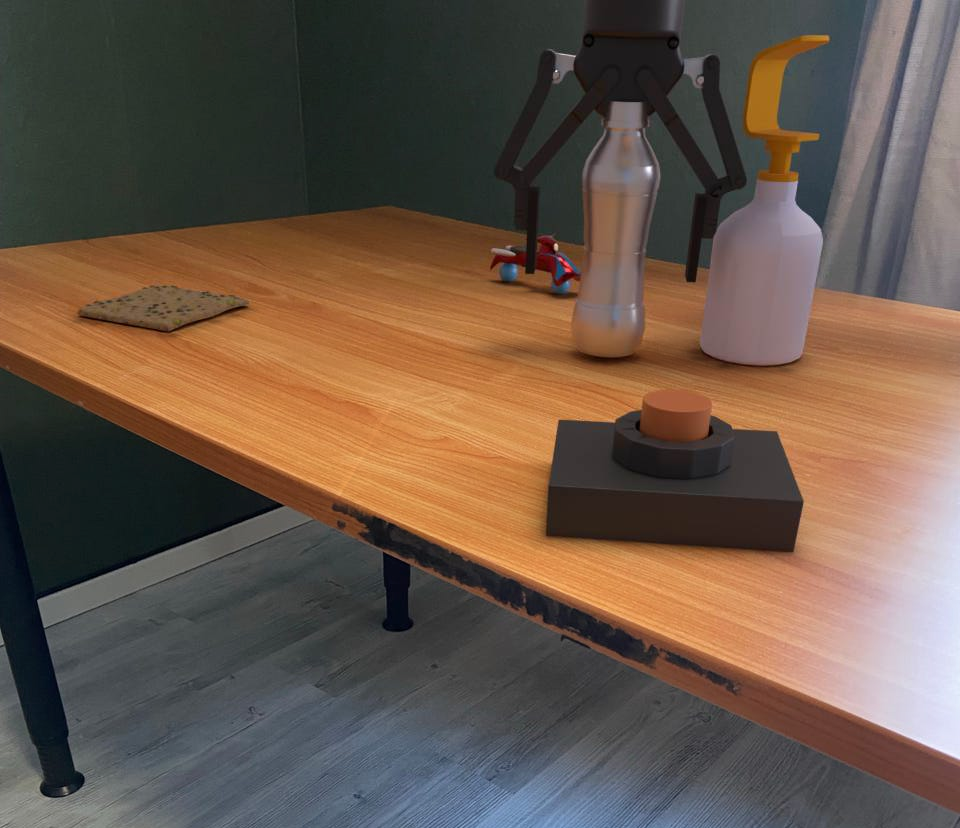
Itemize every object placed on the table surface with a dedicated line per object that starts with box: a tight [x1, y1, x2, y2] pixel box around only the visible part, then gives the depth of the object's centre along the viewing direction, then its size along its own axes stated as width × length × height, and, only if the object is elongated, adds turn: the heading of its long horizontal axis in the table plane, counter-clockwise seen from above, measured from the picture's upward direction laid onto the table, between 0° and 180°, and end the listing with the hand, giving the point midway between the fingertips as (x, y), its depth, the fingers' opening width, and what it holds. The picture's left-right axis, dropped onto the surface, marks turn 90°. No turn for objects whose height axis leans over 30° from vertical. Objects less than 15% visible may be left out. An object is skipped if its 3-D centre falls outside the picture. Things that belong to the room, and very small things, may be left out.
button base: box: [545, 409, 805, 553], centre depth 60 cm, size 14×11×5 cm
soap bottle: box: [699, 34, 830, 367], centre depth 83 cm, size 9×9×25 cm
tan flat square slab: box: [77, 285, 250, 332], centre depth 99 cm, size 12×12×1 cm
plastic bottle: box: [570, 101, 662, 358], centre depth 83 cm, size 6×7×20 cm
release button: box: [639, 388, 713, 442], centre depth 58 cm, size 4×4×2 cm
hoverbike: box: [489, 233, 581, 295], centre depth 109 cm, size 5×12×6 cm, turn 45°
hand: (609, 275), depth 85 cm, fingers open, 13 cm apart
